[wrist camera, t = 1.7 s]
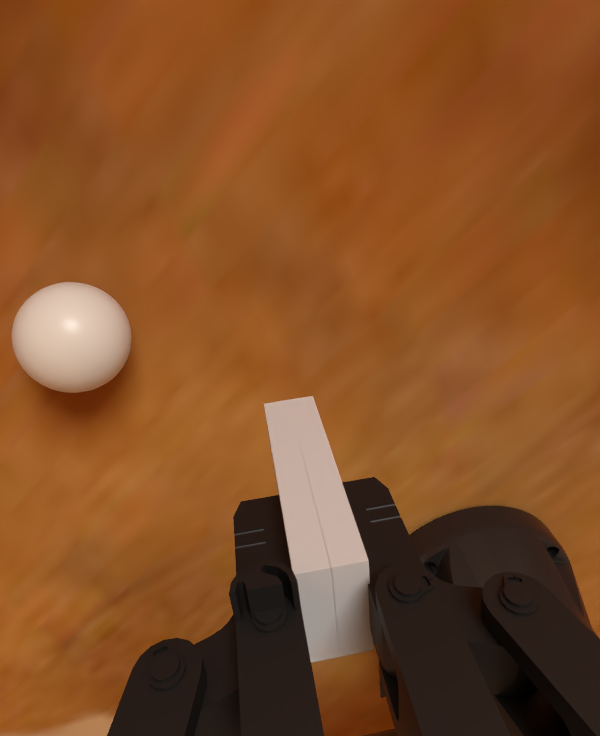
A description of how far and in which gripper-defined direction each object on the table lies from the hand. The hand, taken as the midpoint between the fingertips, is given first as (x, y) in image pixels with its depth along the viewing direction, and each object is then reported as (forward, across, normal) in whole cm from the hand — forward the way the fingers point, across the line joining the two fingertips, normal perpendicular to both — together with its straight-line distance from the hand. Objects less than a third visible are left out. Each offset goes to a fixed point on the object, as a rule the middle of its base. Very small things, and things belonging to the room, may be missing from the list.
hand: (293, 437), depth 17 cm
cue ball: (+12, +10, 0) cm, 15 cm away
